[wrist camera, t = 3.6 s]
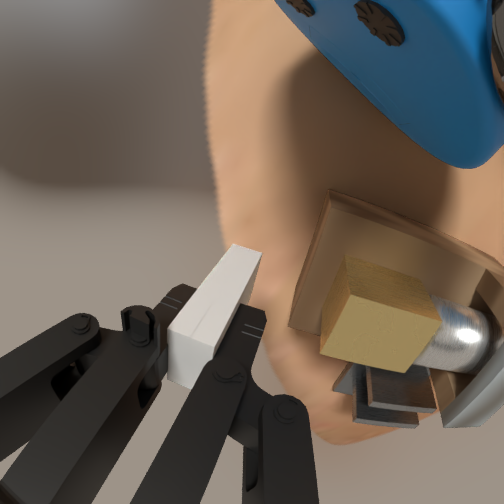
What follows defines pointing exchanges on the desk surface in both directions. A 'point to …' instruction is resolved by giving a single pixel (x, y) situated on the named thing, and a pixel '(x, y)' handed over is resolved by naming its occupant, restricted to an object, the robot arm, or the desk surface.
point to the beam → (418, 266)
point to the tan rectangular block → (376, 316)
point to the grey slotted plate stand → (387, 394)
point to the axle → (461, 339)
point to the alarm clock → (420, 66)
